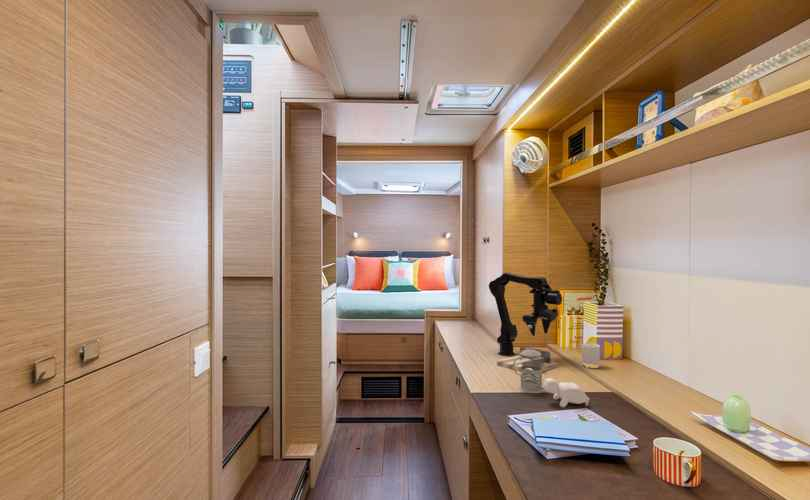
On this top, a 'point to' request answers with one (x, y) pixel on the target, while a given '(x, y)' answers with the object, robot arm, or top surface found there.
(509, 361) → the stool seat
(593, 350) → the white cup
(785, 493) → the top surface
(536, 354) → the french press
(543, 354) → the walnut leg
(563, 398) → the white animal figurine
